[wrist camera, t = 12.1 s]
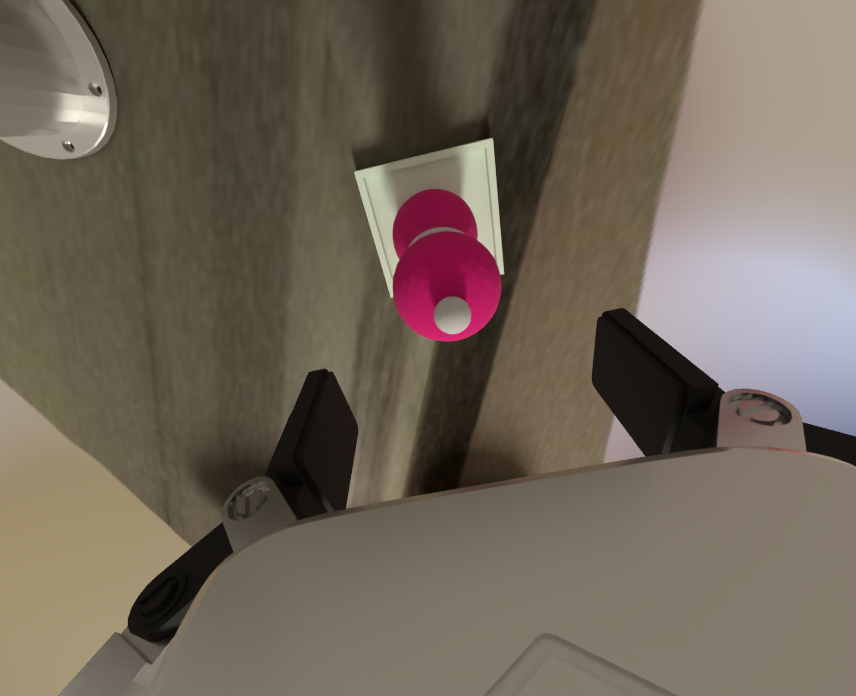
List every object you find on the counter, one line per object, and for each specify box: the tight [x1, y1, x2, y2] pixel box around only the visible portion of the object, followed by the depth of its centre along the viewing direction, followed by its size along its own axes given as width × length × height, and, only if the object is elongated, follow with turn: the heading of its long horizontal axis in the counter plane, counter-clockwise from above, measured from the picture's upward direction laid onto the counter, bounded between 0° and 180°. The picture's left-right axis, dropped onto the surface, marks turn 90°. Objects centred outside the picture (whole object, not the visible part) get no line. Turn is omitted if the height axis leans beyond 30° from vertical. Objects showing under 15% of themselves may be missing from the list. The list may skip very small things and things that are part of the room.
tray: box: [354, 138, 504, 298], centre depth 31 cm, size 12×12×2 cm
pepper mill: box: [392, 189, 501, 341], centre depth 23 cm, size 7×7×20 cm
